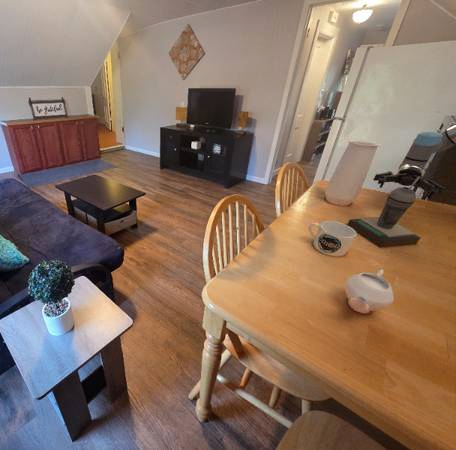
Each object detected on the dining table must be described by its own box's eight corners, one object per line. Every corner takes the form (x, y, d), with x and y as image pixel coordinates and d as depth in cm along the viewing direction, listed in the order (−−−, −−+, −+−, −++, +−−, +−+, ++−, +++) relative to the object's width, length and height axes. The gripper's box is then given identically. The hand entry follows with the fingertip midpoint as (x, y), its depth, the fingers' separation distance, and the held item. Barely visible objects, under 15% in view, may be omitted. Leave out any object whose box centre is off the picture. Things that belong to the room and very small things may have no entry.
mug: (346, 245, 88) (356, 226, 83) (346, 261, 80) (357, 241, 76) (305, 233, 94) (312, 215, 90) (301, 247, 87) (308, 228, 82)
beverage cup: (375, 219, 96) (402, 170, 86) (398, 226, 92) (431, 176, 81) (369, 225, 92) (398, 175, 82) (394, 233, 88) (427, 181, 77)
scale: (416, 244, 89) (422, 235, 87) (380, 247, 87) (385, 239, 85) (378, 222, 101) (383, 215, 99) (346, 225, 99) (350, 217, 97)
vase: (349, 210, 110) (380, 147, 96) (318, 200, 118) (342, 141, 103) (356, 201, 118) (386, 142, 103) (326, 193, 126) (350, 137, 111)
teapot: (391, 298, 67) (409, 273, 62) (367, 340, 57) (387, 314, 52) (351, 279, 74) (365, 255, 69) (323, 313, 63) (337, 288, 58)
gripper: (444, 191, 98) (446, 209, 85) (368, 176, 112) (360, 189, 99) (457, 173, 94) (461, 190, 81) (376, 159, 108) (368, 171, 95)
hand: (405, 189), depth 90 cm, fingers open, 13 cm apart
